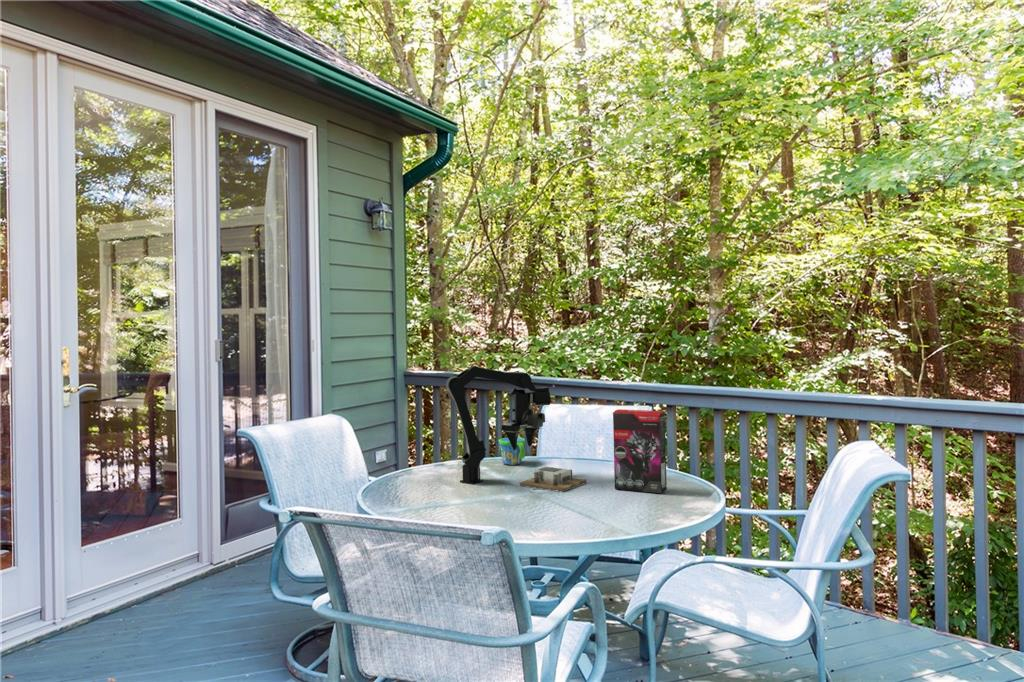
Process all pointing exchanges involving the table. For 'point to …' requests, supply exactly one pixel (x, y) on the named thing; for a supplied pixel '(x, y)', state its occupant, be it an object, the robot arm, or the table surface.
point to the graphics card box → (639, 450)
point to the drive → (548, 473)
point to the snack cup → (511, 451)
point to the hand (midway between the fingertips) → (522, 447)
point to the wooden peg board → (552, 486)
